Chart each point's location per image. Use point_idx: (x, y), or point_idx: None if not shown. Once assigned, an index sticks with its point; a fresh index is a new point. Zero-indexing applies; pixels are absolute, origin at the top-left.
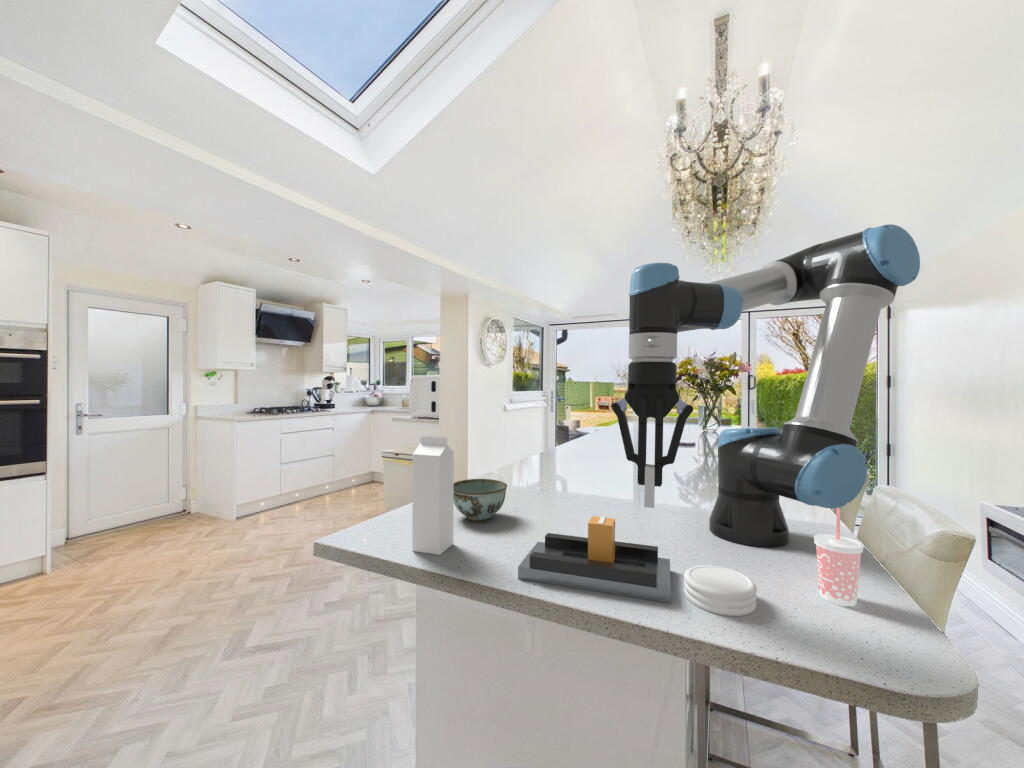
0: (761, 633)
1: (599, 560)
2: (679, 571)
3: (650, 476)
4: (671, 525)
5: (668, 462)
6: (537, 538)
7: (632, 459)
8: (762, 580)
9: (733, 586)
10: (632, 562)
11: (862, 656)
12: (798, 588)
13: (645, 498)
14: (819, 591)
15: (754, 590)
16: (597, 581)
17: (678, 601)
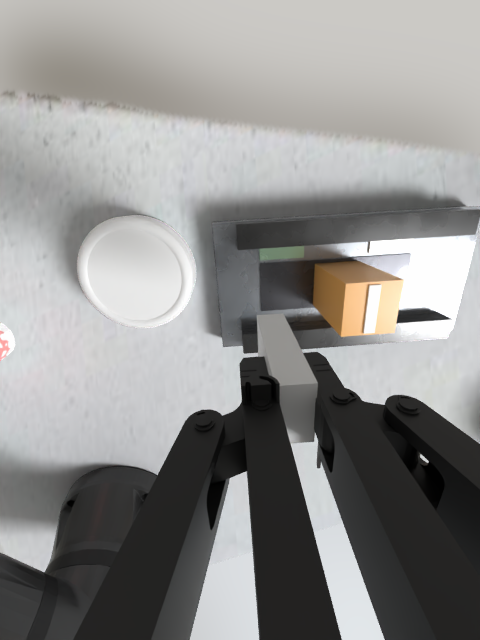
0: (77, 180)
1: (341, 264)
2: (208, 341)
3: (284, 361)
4: (233, 495)
5: (214, 414)
6: (442, 374)
7: (390, 402)
8: (91, 358)
9: (110, 254)
10: (282, 304)
11: None
12: (42, 352)
13: (285, 324)
14: (8, 339)
15: (78, 256)
16: (334, 215)
17: (201, 235)
